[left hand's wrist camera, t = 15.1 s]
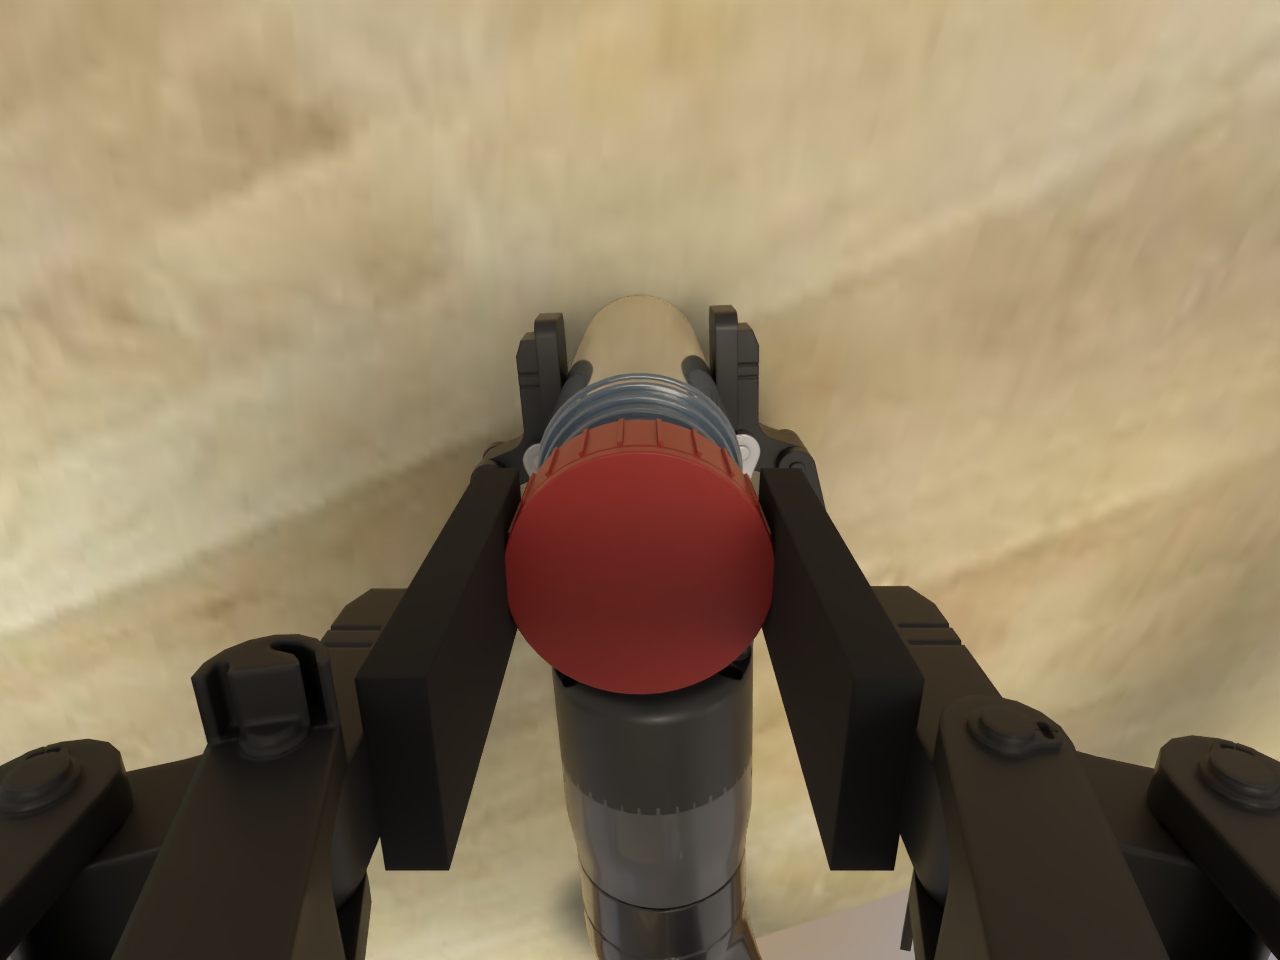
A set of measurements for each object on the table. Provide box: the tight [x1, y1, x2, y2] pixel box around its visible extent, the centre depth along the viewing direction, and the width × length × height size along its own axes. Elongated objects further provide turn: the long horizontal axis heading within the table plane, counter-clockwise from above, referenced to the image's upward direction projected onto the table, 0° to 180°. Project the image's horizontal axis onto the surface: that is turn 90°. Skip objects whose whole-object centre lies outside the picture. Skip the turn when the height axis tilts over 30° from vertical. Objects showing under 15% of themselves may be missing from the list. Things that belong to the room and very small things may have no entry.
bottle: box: [536, 295, 743, 472], centre depth 22 cm, size 5×5×19 cm
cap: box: [505, 418, 775, 694], centre depth 13 cm, size 5×5×2 cm
